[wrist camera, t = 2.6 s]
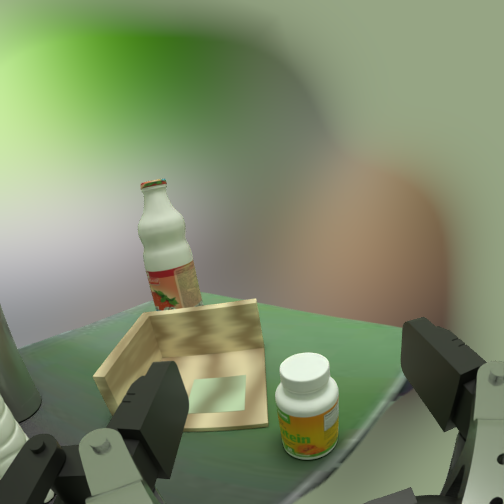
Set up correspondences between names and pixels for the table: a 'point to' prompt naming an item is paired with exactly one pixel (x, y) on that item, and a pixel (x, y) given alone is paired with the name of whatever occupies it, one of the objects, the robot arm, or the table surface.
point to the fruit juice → (167, 251)
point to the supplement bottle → (307, 406)
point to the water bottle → (11, 441)
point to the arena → (198, 363)
